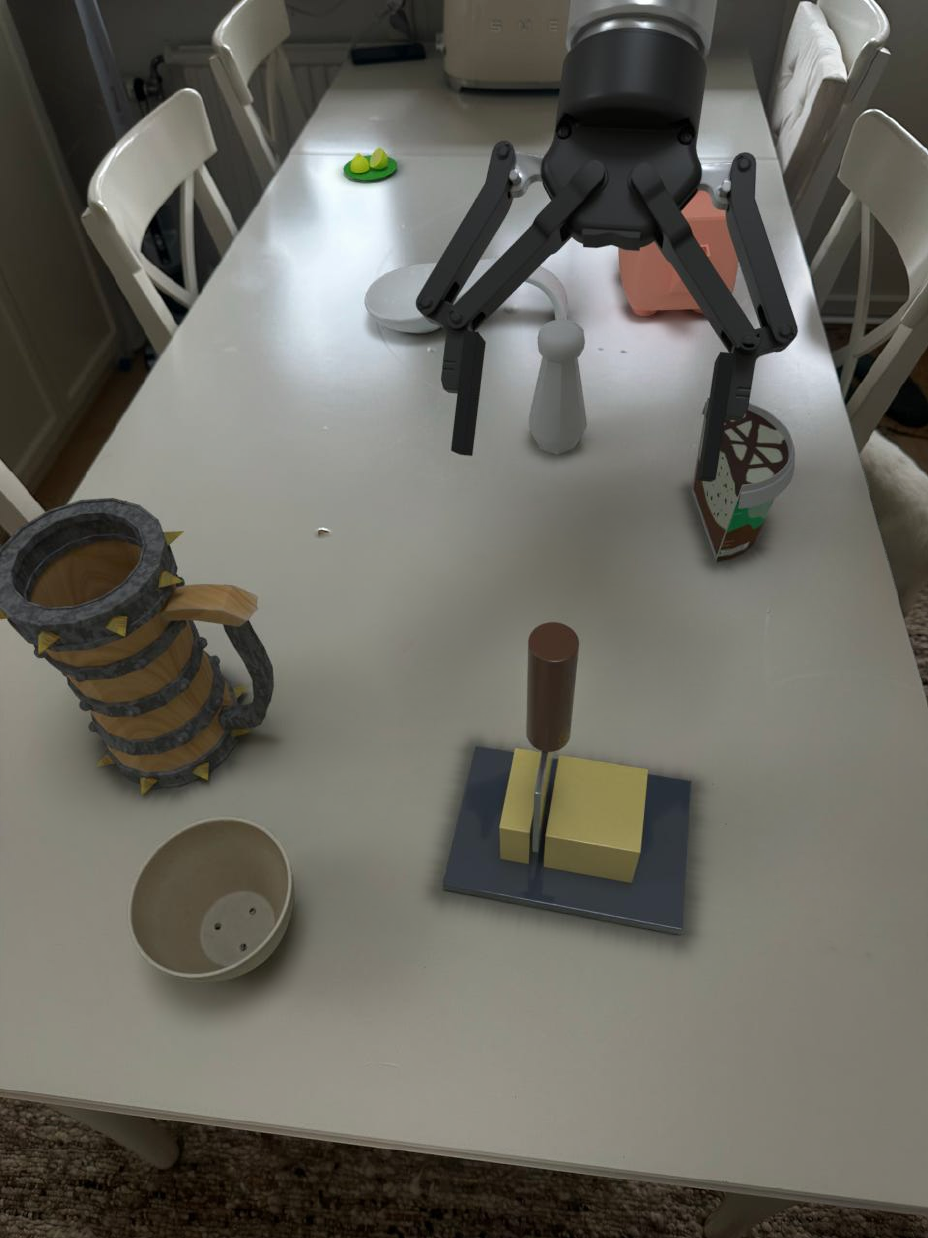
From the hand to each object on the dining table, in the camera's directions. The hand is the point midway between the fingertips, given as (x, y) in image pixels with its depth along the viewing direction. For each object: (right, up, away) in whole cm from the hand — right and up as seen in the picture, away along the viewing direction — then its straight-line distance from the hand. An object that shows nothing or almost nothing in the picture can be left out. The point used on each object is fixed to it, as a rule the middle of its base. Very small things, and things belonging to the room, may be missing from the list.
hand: (581, 467), depth 48 cm
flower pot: (-22, -30, +10) cm, 38 cm away
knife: (-1, -20, +9) cm, 22 cm away
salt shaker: (+3, +10, +40) cm, 41 cm away
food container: (+19, 0, +32) cm, 37 cm away
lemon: (-20, +58, +80) cm, 101 cm away
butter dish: (+1, -24, +13) cm, 27 cm away
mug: (-27, -17, +20) cm, 38 cm away
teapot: (+18, +30, +56) cm, 66 cm away
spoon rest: (-6, +27, +54) cm, 61 cm away
